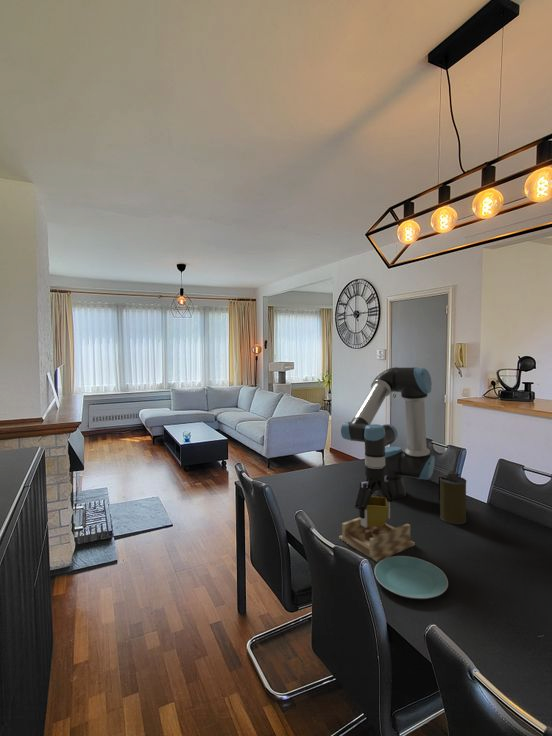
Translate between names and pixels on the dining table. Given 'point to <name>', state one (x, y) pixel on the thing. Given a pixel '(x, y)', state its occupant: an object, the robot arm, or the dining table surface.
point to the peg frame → (376, 538)
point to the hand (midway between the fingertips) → (375, 521)
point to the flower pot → (377, 511)
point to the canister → (452, 498)
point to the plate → (411, 577)
